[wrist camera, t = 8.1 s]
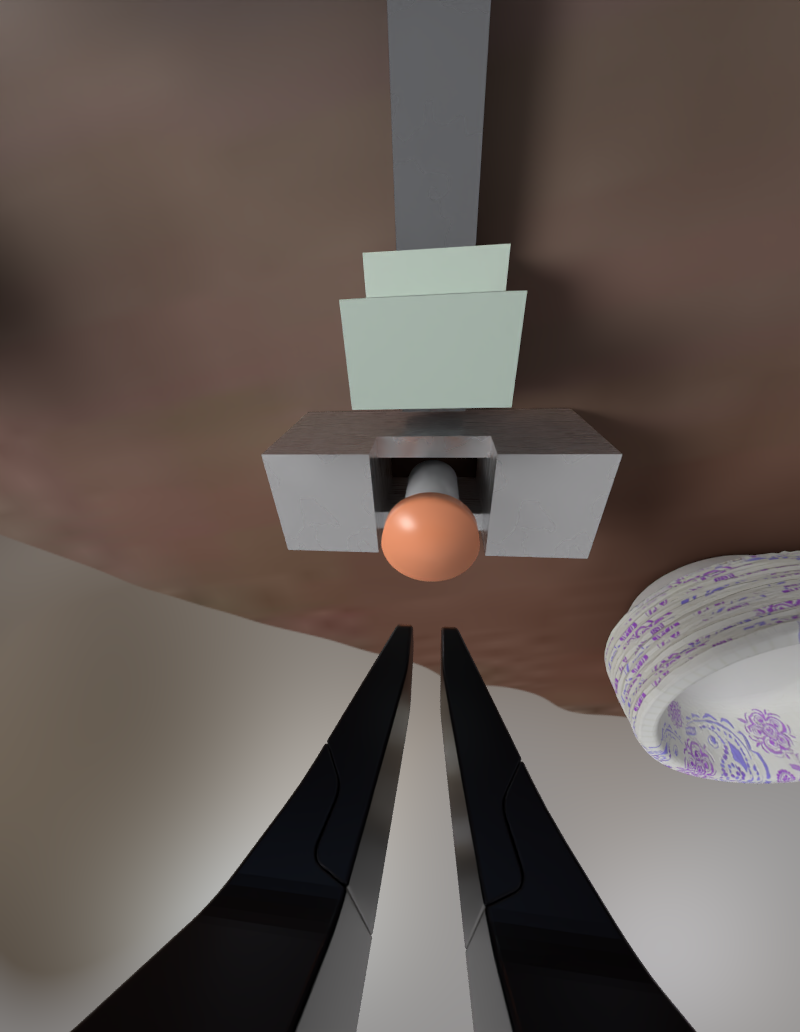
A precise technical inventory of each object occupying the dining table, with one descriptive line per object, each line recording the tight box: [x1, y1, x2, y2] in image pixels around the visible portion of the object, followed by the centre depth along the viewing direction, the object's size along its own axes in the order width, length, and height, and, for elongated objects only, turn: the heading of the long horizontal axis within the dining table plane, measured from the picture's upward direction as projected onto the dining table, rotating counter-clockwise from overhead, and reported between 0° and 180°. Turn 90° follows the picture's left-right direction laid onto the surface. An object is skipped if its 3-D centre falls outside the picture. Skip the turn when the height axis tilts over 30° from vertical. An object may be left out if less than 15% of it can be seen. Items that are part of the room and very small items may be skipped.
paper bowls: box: [605, 551, 800, 783], centre depth 21 cm, size 15×15×8 cm
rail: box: [387, 0, 491, 412], centre depth 13 cm, size 14×3×2 cm, turn 3°
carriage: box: [339, 244, 527, 410], centre depth 12 cm, size 5×5×9 cm
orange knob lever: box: [382, 460, 480, 582], centre depth 15 cm, size 4×4×5 cm
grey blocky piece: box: [261, 408, 622, 559], centre depth 17 cm, size 5×14×6 cm, turn 93°
